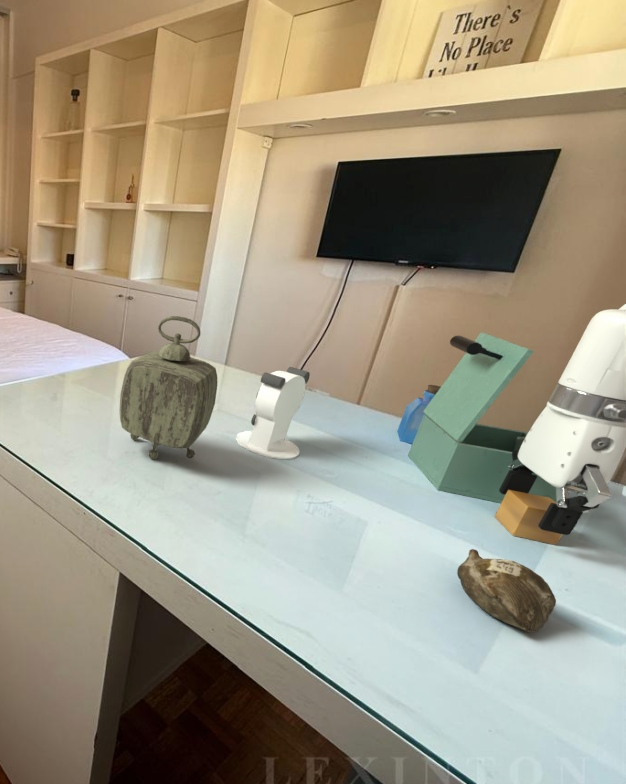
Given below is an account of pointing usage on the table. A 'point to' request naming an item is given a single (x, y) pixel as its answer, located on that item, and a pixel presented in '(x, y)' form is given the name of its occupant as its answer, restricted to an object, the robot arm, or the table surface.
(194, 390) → the tabletop clock
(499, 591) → the fossilized seashell
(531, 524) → the block
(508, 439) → the green storage box
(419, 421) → the perfume bottle
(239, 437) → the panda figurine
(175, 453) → the table surface
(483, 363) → the lid
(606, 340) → the robot arm
